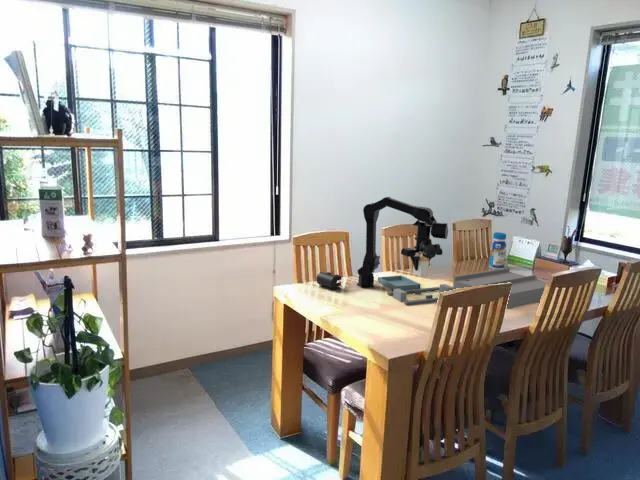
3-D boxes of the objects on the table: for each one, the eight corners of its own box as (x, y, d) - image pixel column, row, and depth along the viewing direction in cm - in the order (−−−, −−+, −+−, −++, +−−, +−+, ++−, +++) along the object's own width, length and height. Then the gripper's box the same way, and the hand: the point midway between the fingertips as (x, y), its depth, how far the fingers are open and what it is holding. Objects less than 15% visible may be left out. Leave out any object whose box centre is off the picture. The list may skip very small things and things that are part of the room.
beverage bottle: (493, 265, 292) (497, 231, 288) (507, 268, 285) (510, 233, 281) (485, 267, 286) (489, 232, 282) (498, 270, 280) (502, 235, 276)
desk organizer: (563, 297, 234) (565, 283, 233) (508, 310, 213) (510, 294, 212) (506, 280, 260) (508, 267, 259) (452, 290, 239) (454, 276, 238)
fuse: (420, 276, 223) (421, 259, 222) (412, 273, 228) (414, 255, 227) (427, 275, 225) (429, 258, 223) (419, 272, 230) (421, 255, 228)
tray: (395, 291, 232) (396, 286, 232) (377, 282, 247) (377, 277, 247) (420, 289, 238) (420, 284, 237) (401, 280, 252) (401, 275, 252)
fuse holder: (406, 305, 213) (407, 296, 212) (387, 294, 227) (387, 286, 226) (459, 299, 224) (460, 290, 223) (437, 289, 238) (438, 281, 238)
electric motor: (315, 286, 236) (316, 272, 235) (326, 284, 241) (327, 270, 240) (330, 291, 229) (331, 277, 228) (341, 288, 234) (342, 274, 233)
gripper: (415, 240, 212) (412, 276, 215) (451, 239, 220) (448, 273, 223) (401, 235, 222) (399, 269, 225) (436, 234, 230) (433, 267, 233)
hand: (420, 270), depth 226 cm, fingers closed on fuse, 4 cm apart
